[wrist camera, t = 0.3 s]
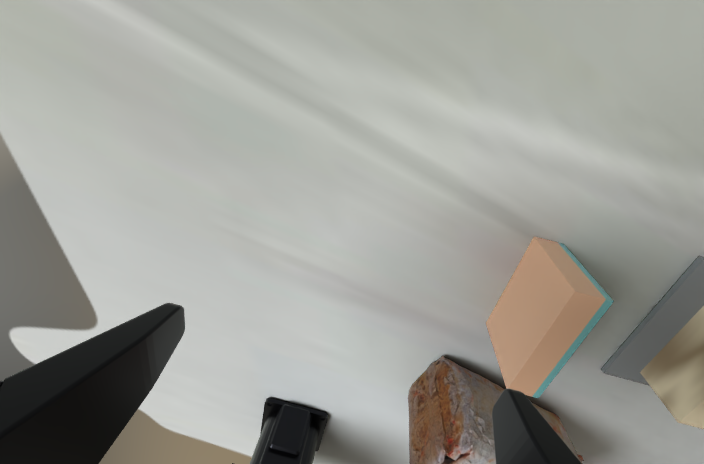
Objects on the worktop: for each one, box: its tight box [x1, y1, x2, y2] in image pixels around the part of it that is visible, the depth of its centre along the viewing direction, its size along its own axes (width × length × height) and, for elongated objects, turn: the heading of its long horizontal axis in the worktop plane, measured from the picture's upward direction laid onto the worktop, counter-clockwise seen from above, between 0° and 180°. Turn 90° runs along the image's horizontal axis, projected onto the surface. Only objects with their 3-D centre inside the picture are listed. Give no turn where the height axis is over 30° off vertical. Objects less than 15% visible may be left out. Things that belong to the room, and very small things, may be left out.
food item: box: [408, 356, 584, 464], centre depth 26 cm, size 14×8×10 cm, turn 61°
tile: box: [486, 237, 614, 398], centre depth 21 cm, size 8×2×6 cm, turn 168°
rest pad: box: [601, 256, 704, 385], centre depth 23 cm, size 11×7×1 cm, turn 168°
